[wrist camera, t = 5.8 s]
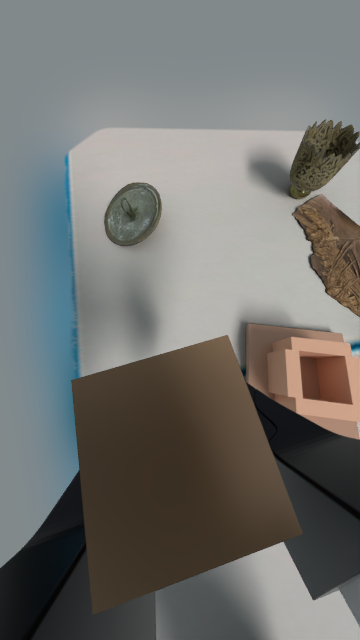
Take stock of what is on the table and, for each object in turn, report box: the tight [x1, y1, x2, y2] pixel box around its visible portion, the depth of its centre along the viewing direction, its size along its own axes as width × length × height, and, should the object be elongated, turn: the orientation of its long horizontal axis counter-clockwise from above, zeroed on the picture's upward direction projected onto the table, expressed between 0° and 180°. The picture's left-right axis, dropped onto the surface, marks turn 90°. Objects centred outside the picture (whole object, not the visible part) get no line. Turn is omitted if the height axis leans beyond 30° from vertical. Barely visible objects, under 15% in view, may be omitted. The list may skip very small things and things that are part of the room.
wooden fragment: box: [293, 194, 360, 316], centre depth 27 cm, size 26×11×1 cm, turn 5°
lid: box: [105, 183, 162, 246], centre depth 27 cm, size 11×10×5 cm
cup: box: [289, 120, 360, 199], centre depth 27 cm, size 8×7×8 cm
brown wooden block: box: [71, 335, 303, 615], centre depth 9 cm, size 3×3×13 cm
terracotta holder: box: [246, 324, 360, 439], centre depth 19 cm, size 12×12×5 cm
